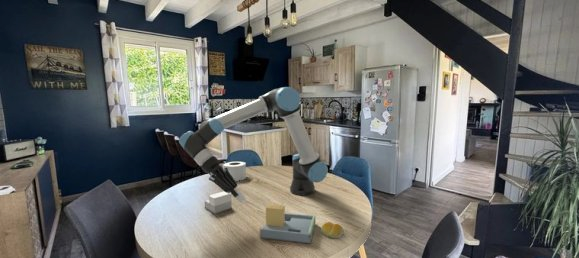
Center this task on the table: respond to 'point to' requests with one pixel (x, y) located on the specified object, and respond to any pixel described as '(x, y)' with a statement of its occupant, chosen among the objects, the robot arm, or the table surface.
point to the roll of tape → (236, 170)
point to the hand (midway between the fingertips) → (243, 200)
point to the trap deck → (291, 229)
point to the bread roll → (332, 230)
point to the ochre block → (275, 215)
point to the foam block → (218, 202)
